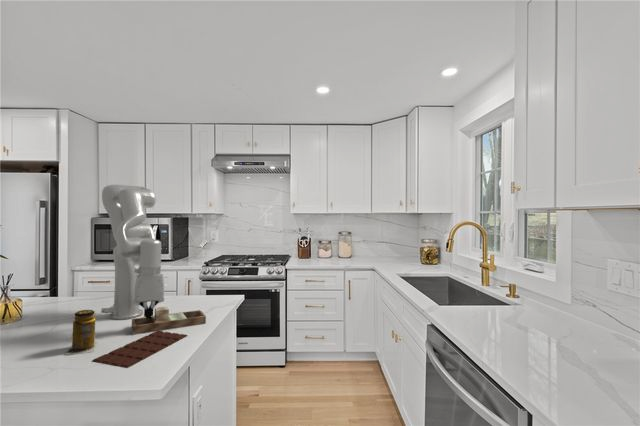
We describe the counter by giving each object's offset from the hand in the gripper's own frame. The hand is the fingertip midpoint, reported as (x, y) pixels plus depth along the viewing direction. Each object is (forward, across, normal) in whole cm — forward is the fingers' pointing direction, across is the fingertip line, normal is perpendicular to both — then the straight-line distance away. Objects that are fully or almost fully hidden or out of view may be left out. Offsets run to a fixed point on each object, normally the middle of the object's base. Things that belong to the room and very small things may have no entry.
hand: (148, 318), depth 127 cm
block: (+1, +5, 0) cm, 5 cm away
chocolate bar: (+5, -3, -19) cm, 20 cm away
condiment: (+4, -20, -11) cm, 23 cm away
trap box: (+4, +8, 0) cm, 9 cm away
